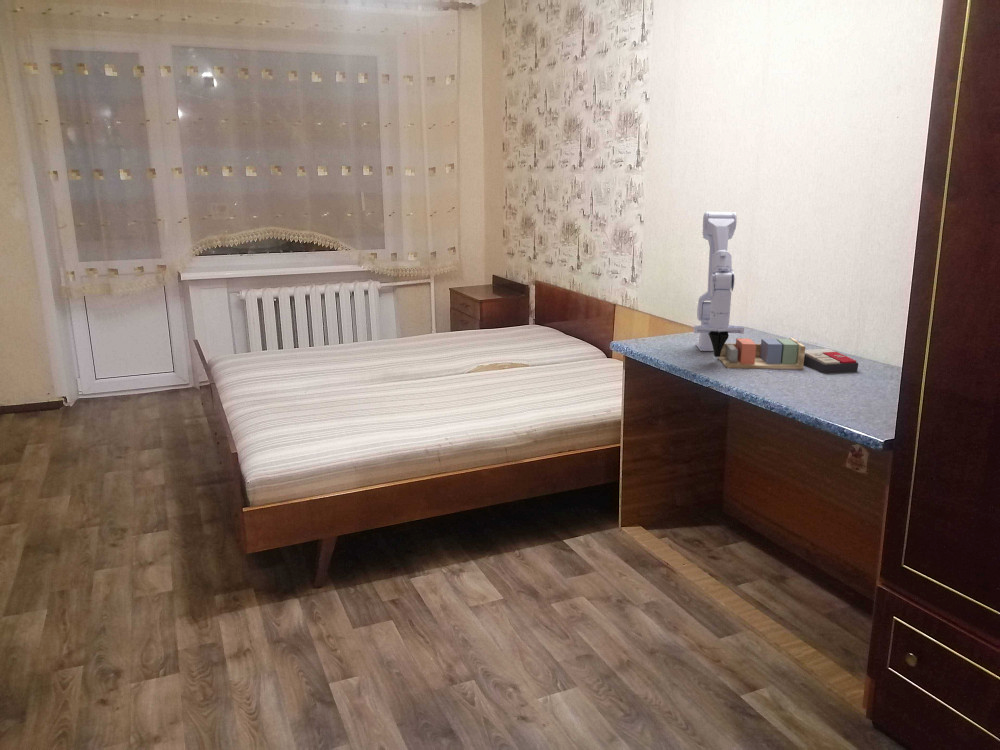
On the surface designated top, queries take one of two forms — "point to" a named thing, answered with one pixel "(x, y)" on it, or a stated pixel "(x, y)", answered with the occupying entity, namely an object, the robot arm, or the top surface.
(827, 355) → the calculator
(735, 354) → the bookend
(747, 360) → the orange rectangular block
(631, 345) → the top surface
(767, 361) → the book
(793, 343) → the book
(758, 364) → the shelf
